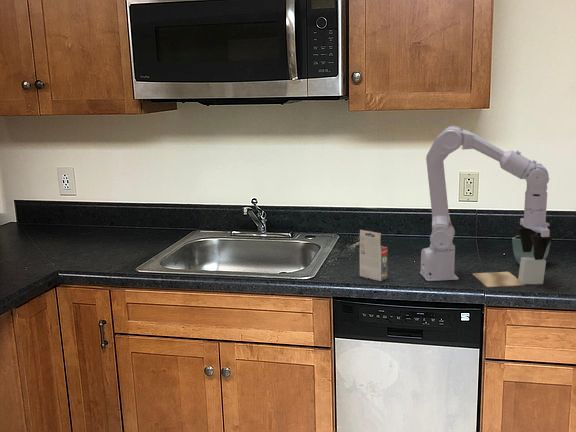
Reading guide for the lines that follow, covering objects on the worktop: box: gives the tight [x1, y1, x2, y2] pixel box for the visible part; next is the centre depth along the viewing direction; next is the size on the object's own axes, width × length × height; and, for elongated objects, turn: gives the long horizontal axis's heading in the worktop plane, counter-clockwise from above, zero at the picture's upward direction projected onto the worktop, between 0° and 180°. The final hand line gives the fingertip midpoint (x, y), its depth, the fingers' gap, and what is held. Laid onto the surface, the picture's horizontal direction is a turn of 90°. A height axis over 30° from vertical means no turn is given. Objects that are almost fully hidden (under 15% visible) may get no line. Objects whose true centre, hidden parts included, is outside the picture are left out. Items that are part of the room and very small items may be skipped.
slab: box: [517, 257, 547, 285], centre depth 186 cm, size 6×3×7 cm, turn 94°
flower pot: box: [511, 233, 552, 266], centre depth 202 cm, size 9×9×9 cm
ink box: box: [359, 229, 388, 282], centre depth 194 cm, size 4×8×15 cm, turn 47°
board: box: [472, 271, 526, 288], centre depth 190 cm, size 11×12×1 cm
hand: (532, 255), depth 185 cm, fingers open, 7 cm apart
